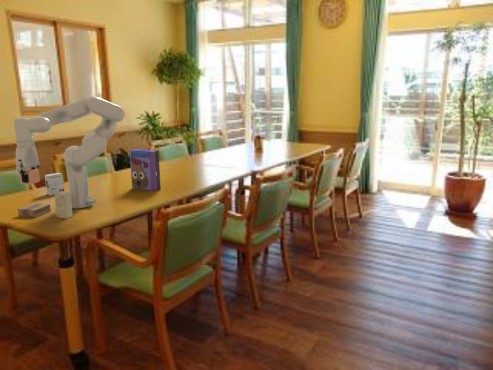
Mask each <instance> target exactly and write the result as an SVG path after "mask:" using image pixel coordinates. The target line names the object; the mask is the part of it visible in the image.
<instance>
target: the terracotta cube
mask: <svg viewBox="0 0 493 370" xmlns="http://www.w3.org/2000/svg"><path fill="white" fill-rule="evenodd" d="M39 169H40V168H38V169H31V168H27V174H28V180H29V182H28V183H23V182H22V177H21V174H20V173H19V172H18V173H19V182H20V184H22V185H24V184H25V185H34V184H36V183H39V182H41V178H40V170H39ZM24 170H25V169H23V171H24Z"/></svg>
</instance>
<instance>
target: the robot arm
mask: <svg viewBox="0 0 493 370" xmlns="http://www.w3.org/2000/svg"><path fill="white" fill-rule="evenodd" d="M93 114H94V115H97V116H99V117H101V122H100V123H99V124H98V125H97V126H96V127H95V128H94V129H92V130H91V131H90V132H88V133H87V134H86V135H84V136H83V138H82V140H81V145H80V146H78V145H70V146H68V147H67V148H66V149H65V151H64V154H63V158H64V163H65V169H66V173H67V174H66V175H67V183H68V184H67V185H68V192H71V204H72V209H85V208H88V207H91V206H93V205H94V204H96V198H92V195H90V191H89V182H88V171H87V170H88V169H87V166H88V165H89V164H91V163H92V162H94V160H96V159H97V158H98V157H99V156H100V155H101V154H102V153H104V151H105V150H106V149H107V147H108V140H109V139H110V138H111V137H112V136H113V135H114V134H115V132H116V130H117V125H118V122H119V123H120V122H122V121H123V120H124V119H125V116H126V113H125V110H124V108H123V107H122V106H120V105H118V104H115V103H113V102H111V101H108V100H106V99H103V98H101V97H98V96H86V97H83V98H81V99H78V100H75V101H73V102H70V103H68V104H64V105H62V106H59V107H57V108H54V109H51V110H48V111H45V112H42V113H39V114H36V115H35V116H33V117H31V118H30V117H16V118H14V119H13V126H14V127H13V128H14V135H15V141H16V148H15V163H16V164H15V165H16V167H15V170H16V171H17V172H18V173H20V174H21V177H22V182H23V183H28V182H29V180H28V174H27V169H40V165H41V161H39V156H38V151H37V147H36V145H35V137H34V133H40V134H45V133H47V132H49V131H51V128H52V127H53V126H55V125H60V124H65V123H71V122H75V121H77V120H79V119H82V118H85V117H87V116H89V115H93ZM23 170H24V171H23Z"/></svg>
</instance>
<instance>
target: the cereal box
mask: <svg viewBox="0 0 493 370" xmlns="http://www.w3.org/2000/svg"><path fill="white" fill-rule="evenodd" d="M128 151H129V161H130V162H129V163H130V164H129V165H130V175H131V176H130V177H131V189H132V190H135V189H136V190H140V191H141V190H144V191H150V192H151V191H152V192H157V190H158V191H159V190H162V189H161V174H160V173H161V172H160V171H161V170H160V155H159V154H160V152H159V150H154V149H153V150H151V149H148V150H147V149H137V148H136V149H135V148H134V149H130V150H128Z"/></svg>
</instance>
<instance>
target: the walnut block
mask: <svg viewBox="0 0 493 370" xmlns="http://www.w3.org/2000/svg"><path fill="white" fill-rule="evenodd" d="M51 212H52V210H51V204H45V203H35V202H33V203H30V204H27V205H25V206H22V207H19V208H17V213H18V216H19V217H25V218H27V217H28V218H38V217H41V216H43V215H46V214H48V213H51Z"/></svg>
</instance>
